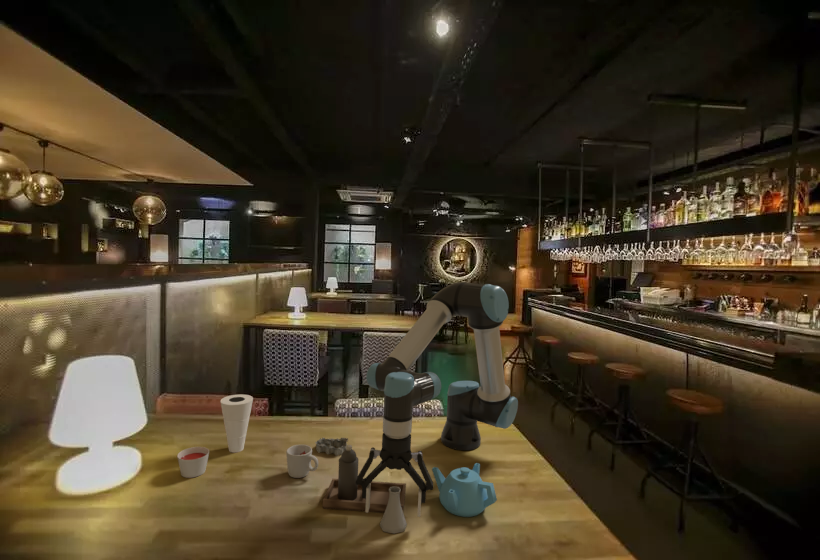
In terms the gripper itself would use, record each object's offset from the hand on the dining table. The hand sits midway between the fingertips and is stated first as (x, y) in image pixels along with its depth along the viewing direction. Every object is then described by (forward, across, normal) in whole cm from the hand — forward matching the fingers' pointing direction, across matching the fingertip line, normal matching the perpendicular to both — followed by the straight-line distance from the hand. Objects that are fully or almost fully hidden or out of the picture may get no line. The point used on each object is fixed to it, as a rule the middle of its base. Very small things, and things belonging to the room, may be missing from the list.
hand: (393, 511), depth 116 cm
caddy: (+4, +9, -11) cm, 15 cm away
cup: (+4, +31, -22) cm, 38 cm away
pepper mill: (+3, +14, -11) cm, 18 cm away
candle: (+4, +65, -19) cm, 68 cm away
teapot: (+4, -19, -12) cm, 23 cm away
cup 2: (+4, +59, -36) cm, 69 cm away
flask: (+4, 0, 0) cm, 4 cm away
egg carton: (+4, +26, -40) cm, 48 cm away
